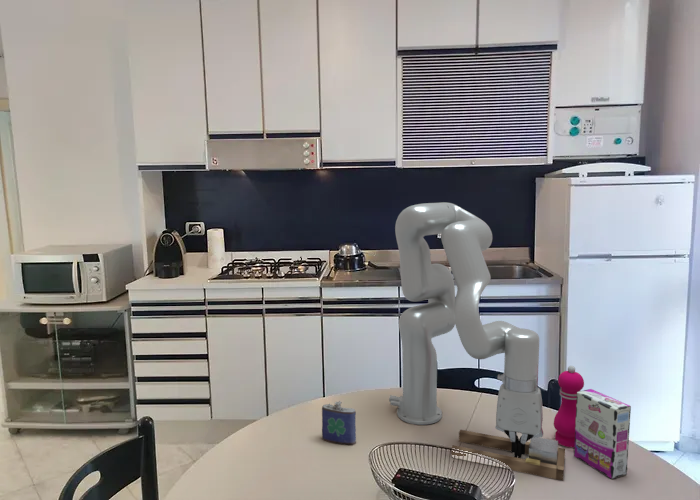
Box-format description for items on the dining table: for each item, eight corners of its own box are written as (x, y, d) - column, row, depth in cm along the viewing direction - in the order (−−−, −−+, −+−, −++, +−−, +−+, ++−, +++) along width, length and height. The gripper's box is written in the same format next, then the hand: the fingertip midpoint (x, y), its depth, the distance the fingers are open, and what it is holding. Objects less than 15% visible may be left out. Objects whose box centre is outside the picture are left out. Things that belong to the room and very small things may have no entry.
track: (451, 457, 126) (451, 446, 126) (460, 438, 135) (460, 427, 135) (563, 480, 116) (563, 468, 116) (564, 458, 125) (565, 446, 125)
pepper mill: (586, 449, 129) (590, 372, 126) (555, 447, 130) (558, 370, 127) (580, 435, 136) (583, 361, 133) (550, 433, 137) (553, 360, 134)
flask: (357, 441, 134) (356, 401, 133) (353, 447, 132) (352, 406, 130) (324, 435, 138) (323, 396, 136) (319, 440, 135) (318, 401, 134)
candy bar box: (628, 474, 118) (632, 405, 116) (612, 480, 116) (616, 410, 114) (588, 451, 128) (591, 387, 126) (572, 456, 126) (575, 391, 124)
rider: (528, 468, 121) (529, 448, 120) (530, 455, 126) (531, 436, 126) (556, 474, 119) (557, 453, 118) (557, 460, 124) (558, 441, 123)
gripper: (485, 383, 122) (483, 457, 124) (554, 393, 115) (550, 471, 118) (490, 372, 128) (488, 442, 131) (555, 381, 122) (552, 454, 125)
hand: (518, 455), depth 124 cm, fingers closed
